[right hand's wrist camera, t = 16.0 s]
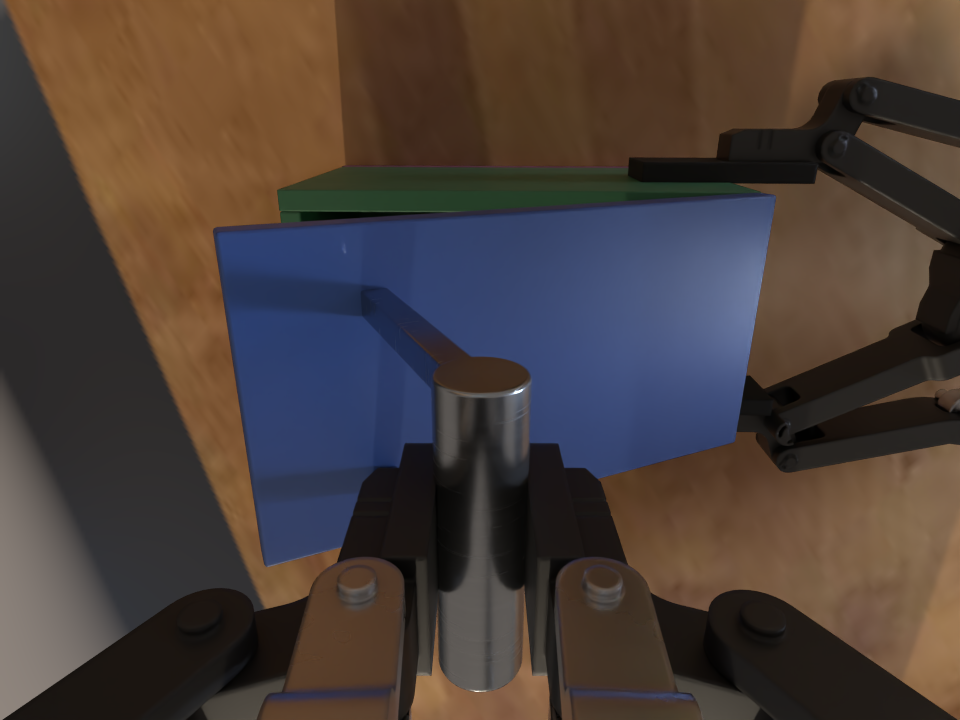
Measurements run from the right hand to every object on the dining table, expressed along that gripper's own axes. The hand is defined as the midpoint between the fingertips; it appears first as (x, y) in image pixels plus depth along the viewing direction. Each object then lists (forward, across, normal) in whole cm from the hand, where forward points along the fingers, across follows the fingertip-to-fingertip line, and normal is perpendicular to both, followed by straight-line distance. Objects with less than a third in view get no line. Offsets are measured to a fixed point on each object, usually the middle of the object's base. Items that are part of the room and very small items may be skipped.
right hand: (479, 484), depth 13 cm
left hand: (+15, -6, 0) cm, 16 cm away
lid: (+7, -2, 0) cm, 7 cm away
